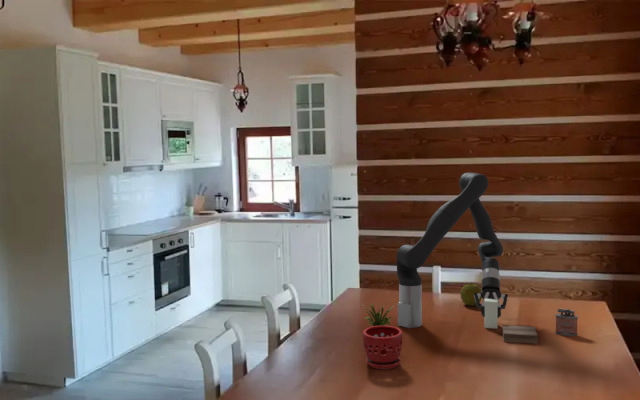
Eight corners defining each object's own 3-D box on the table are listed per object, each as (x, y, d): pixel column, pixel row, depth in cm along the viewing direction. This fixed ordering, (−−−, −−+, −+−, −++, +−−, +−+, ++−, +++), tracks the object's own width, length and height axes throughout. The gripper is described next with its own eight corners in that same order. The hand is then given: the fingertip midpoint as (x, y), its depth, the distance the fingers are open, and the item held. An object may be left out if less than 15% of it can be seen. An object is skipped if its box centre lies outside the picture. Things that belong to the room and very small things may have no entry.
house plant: (351, 348, 225) (351, 304, 223) (362, 337, 238) (361, 296, 236) (389, 352, 220) (389, 307, 219) (398, 340, 233) (398, 298, 232)
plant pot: (362, 358, 214) (362, 325, 213) (400, 358, 213) (400, 324, 212) (364, 372, 201) (363, 336, 200) (404, 372, 200) (404, 336, 199)
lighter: (577, 334, 238) (578, 309, 237) (577, 336, 235) (577, 311, 234) (555, 331, 241) (555, 307, 240) (554, 334, 238) (555, 309, 237)
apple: (465, 301, 291) (465, 278, 290) (485, 304, 286) (485, 281, 285) (457, 305, 283) (457, 282, 282) (477, 308, 278) (477, 285, 277)
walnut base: (537, 343, 227) (537, 335, 227) (503, 341, 230) (503, 333, 230) (534, 334, 239) (534, 326, 238) (502, 332, 242) (502, 324, 241)
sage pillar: (497, 328, 247) (497, 301, 246) (484, 327, 248) (484, 301, 247) (497, 325, 252) (497, 298, 251) (484, 324, 253) (484, 298, 252)
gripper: (473, 275, 257) (472, 310, 247) (508, 276, 254) (510, 312, 243) (473, 285, 263) (472, 320, 252) (508, 286, 259) (509, 322, 249)
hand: (491, 316), depth 248 cm, fingers closed on sage pillar, 5 cm apart
